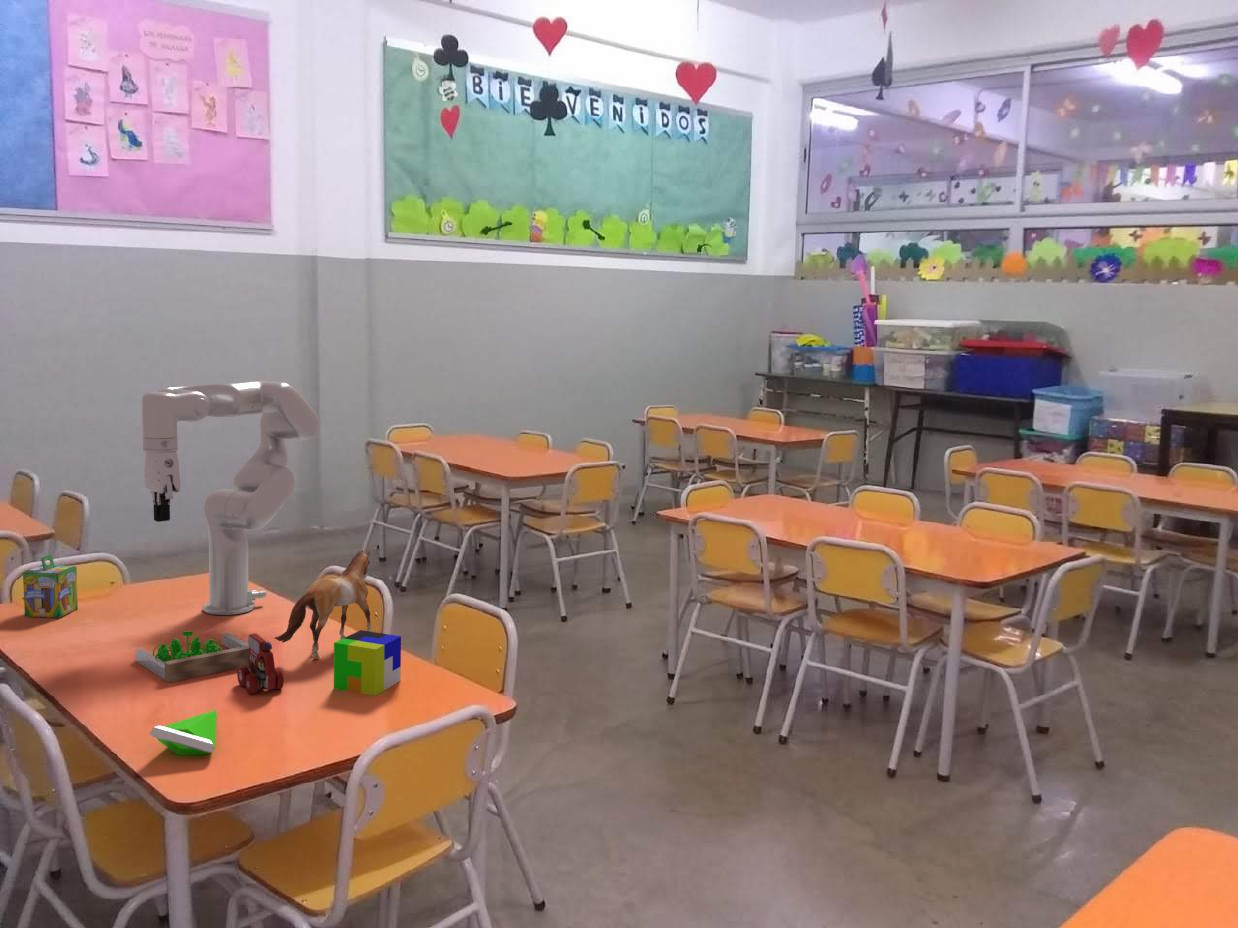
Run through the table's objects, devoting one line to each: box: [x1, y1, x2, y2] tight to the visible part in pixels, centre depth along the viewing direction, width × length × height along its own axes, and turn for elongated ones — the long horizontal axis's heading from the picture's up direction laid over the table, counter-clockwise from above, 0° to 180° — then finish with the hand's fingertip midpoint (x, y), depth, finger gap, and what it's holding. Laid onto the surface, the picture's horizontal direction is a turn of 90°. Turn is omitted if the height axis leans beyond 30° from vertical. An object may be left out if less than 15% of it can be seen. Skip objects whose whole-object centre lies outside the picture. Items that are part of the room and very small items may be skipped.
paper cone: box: [149, 709, 218, 756], centre depth 194 cm, size 11×5×25 cm
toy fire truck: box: [236, 632, 285, 695], centre depth 218 cm, size 7×12×10 cm, turn 37°
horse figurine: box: [274, 550, 372, 660], centre depth 245 cm, size 31×8×21 cm, turn 155°
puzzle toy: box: [333, 629, 402, 697], centre depth 222 cm, size 10×10×10 cm
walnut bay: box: [135, 632, 249, 683], centre depth 232 cm, size 21×18×4 cm
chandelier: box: [152, 630, 223, 662], centre depth 232 cm, size 15×15×7 cm
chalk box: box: [22, 553, 79, 619], centre depth 263 cm, size 9×9×15 cm
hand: (162, 520), depth 251 cm, fingers closed
